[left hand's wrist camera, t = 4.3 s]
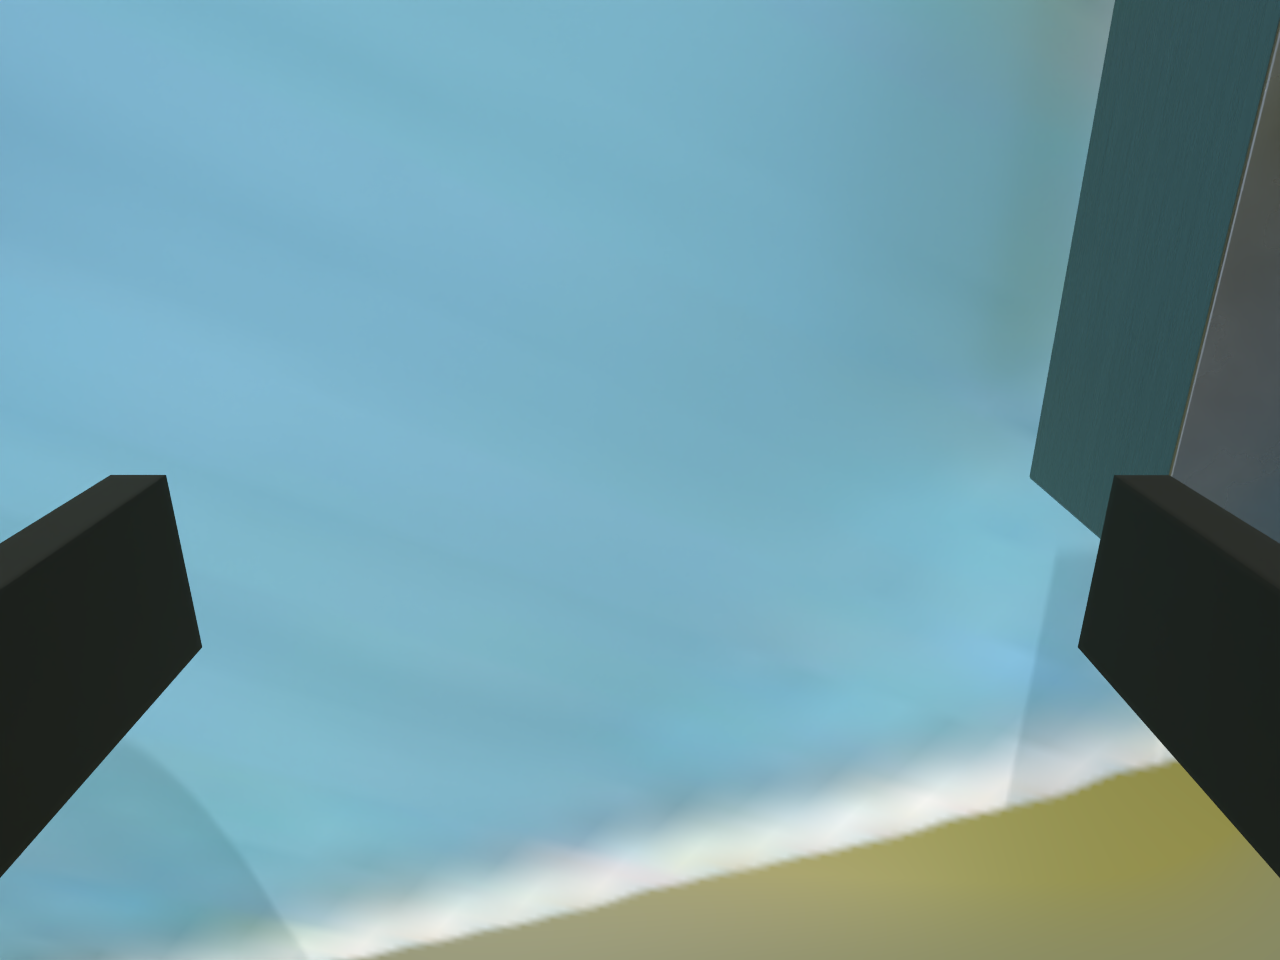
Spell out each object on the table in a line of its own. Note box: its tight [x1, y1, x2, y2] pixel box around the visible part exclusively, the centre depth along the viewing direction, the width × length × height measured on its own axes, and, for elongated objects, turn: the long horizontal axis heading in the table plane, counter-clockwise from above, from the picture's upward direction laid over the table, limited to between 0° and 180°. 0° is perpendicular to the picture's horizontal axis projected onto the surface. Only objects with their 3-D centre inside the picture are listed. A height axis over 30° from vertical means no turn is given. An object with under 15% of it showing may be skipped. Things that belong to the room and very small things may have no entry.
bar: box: [1030, 0, 1280, 543], centre depth 24 cm, size 26×5×8 cm, turn 0°
